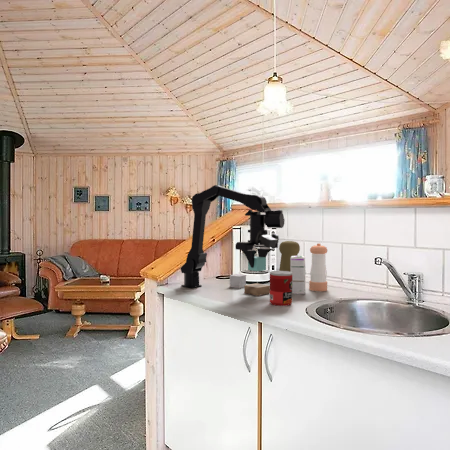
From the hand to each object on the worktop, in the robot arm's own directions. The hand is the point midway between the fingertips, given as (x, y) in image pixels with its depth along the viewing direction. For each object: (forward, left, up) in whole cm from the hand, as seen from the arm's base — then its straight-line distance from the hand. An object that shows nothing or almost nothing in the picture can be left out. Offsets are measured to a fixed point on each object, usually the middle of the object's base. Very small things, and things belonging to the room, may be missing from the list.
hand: (256, 267), depth 159 cm
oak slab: (0, 0, -10) cm, 10 cm away
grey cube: (-15, +4, -10) cm, 19 cm away
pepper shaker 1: (-4, +25, -10) cm, 27 cm away
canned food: (+18, -7, -11) cm, 22 cm away
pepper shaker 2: (+12, +24, -10) cm, 29 cm away
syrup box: (+10, +13, -10) cm, 20 cm away
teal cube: (0, 0, -1) cm, 1 cm away
